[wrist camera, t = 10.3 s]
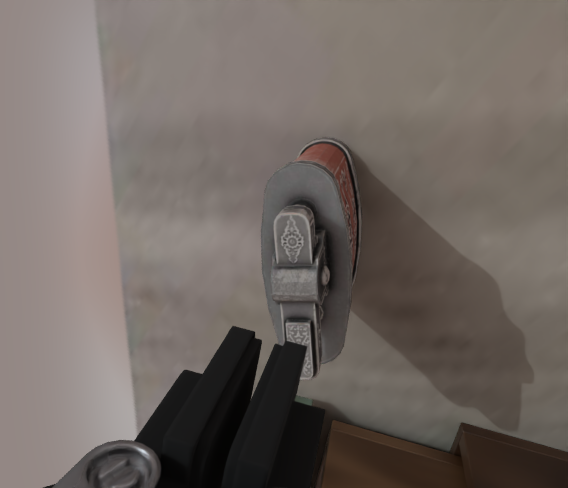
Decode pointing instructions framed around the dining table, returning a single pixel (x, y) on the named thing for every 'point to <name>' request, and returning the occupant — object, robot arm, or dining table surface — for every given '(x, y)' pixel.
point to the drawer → (383, 461)
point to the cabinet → (508, 461)
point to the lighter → (312, 249)
